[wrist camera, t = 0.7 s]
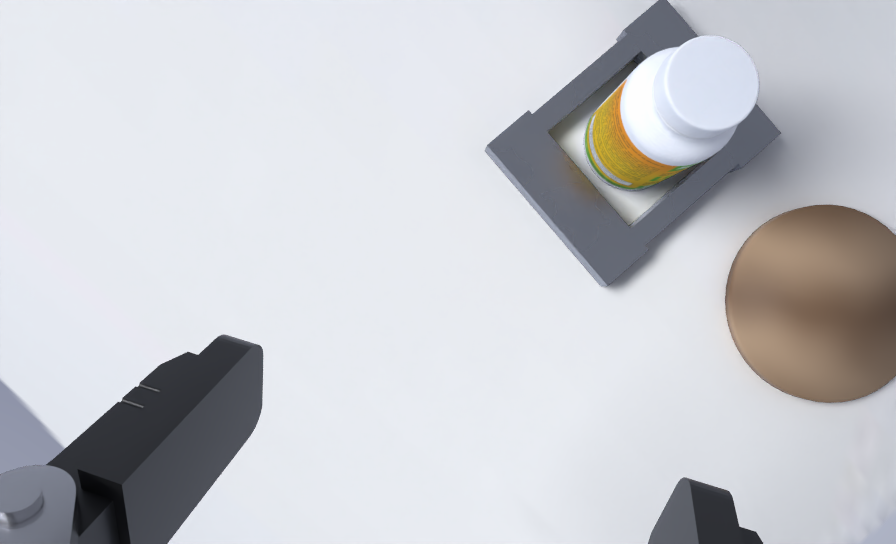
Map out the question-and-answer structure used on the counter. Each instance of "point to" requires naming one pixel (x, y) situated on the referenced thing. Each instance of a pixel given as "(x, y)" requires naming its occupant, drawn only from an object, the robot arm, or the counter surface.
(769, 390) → the counter surface
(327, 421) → the counter surface
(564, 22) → the counter surface
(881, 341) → the walnut pad
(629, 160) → the supplement bottle
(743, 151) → the grey rectangular frame
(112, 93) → the counter surface
